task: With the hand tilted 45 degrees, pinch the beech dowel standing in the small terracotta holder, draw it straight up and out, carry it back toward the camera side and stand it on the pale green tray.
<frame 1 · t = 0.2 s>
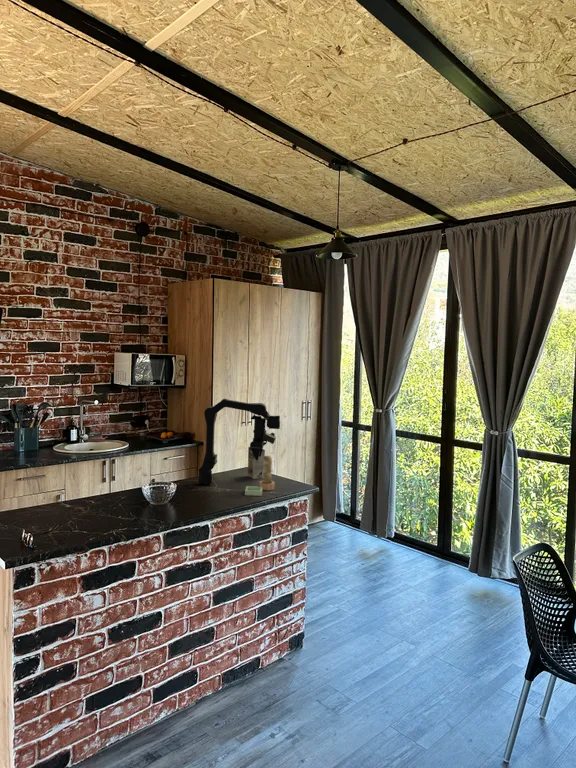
hand: (258, 458, 274), 14 cm above the countertop, tool pointing down, fingers open, 9 cm apart
tray: (253, 493, 260), on the countertop
holder: (266, 488, 270), on the countertop
coffee box: (255, 477, 291), on the countertop
dowel: (267, 472, 269), in the holder
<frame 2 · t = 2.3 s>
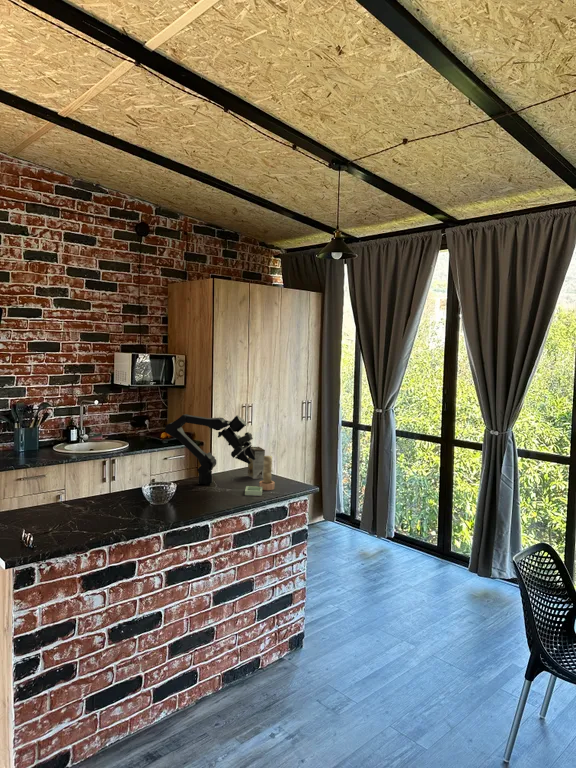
hand: (252, 461, 270), 13 cm above the countertop, tool tilted 45°, fingers open, 9 cm apart
nothing on the countertop moved.
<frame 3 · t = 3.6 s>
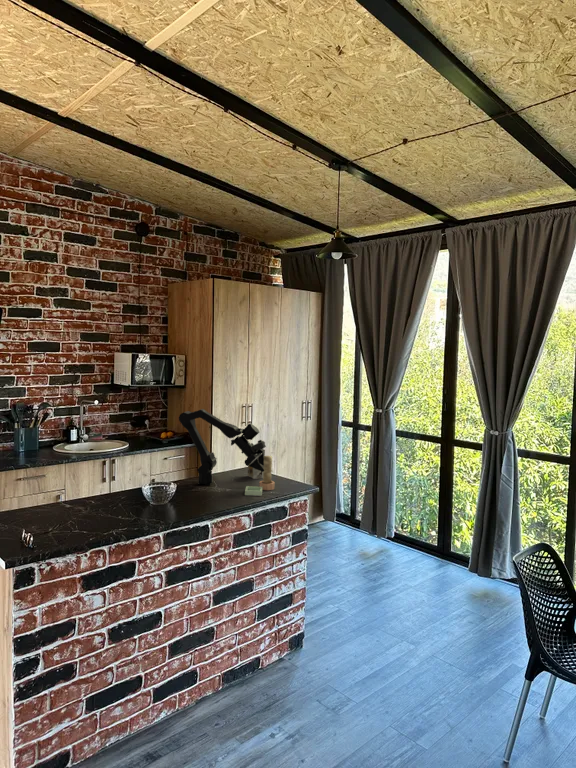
hand: (265, 469, 269), 10 cm above the countertop, tool tilted 45°, fingers open, 9 cm apart
nothing on the countertop moved.
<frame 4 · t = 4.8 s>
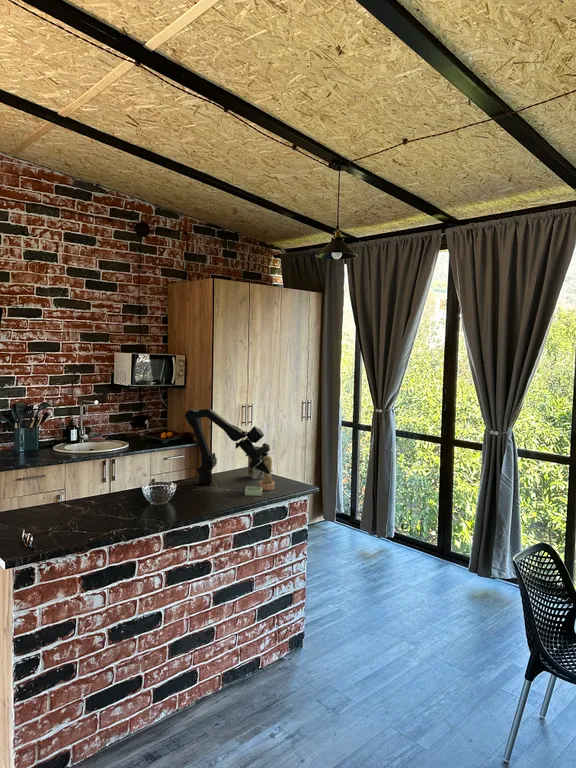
hand: (270, 472, 269), 9 cm above the countertop, tool tilted 45°, fingers closed on dowel, 4 cm apart
dowel: (267, 472, 269), in the holder, touching gripper
everything else where it was.
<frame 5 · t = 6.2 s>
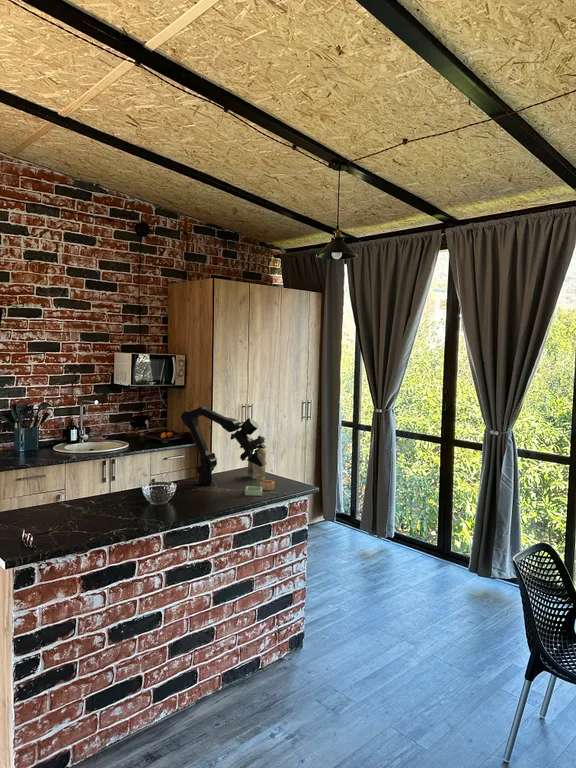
hand: (263, 465, 262), 13 cm above the countertop, tool tilted 45°, fingers closed on dowel, 4 cm apart
dowel: (261, 465, 263), point 13 cm above the countertop, touching gripper
everything else where it was.
when the fingers open (10 cm above the countertop, at t = 7.7 s): dowel stays where it is, resting on tray.
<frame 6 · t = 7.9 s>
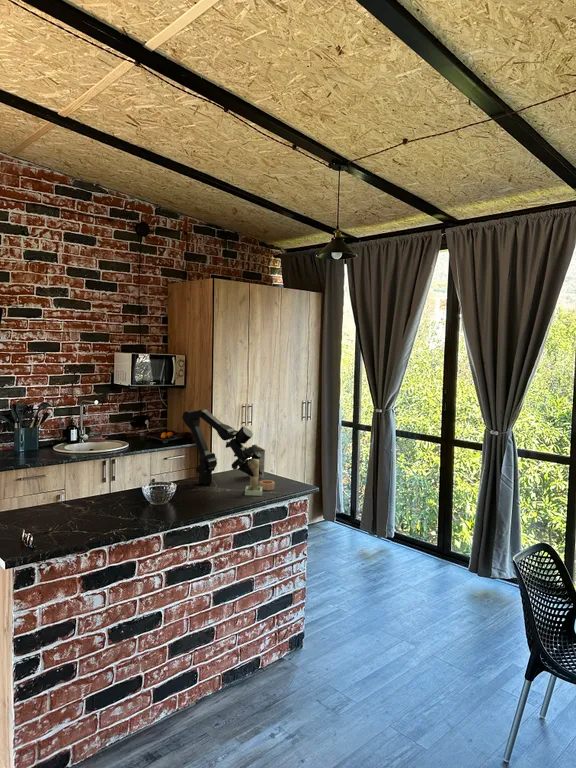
hand: (256, 475, 259), 10 cm above the countertop, tool tilted 45°, fingers open, 6 cm apart
dowel: (254, 476, 259), in the tray, point 9 cm above the countertop
everything else where it was.
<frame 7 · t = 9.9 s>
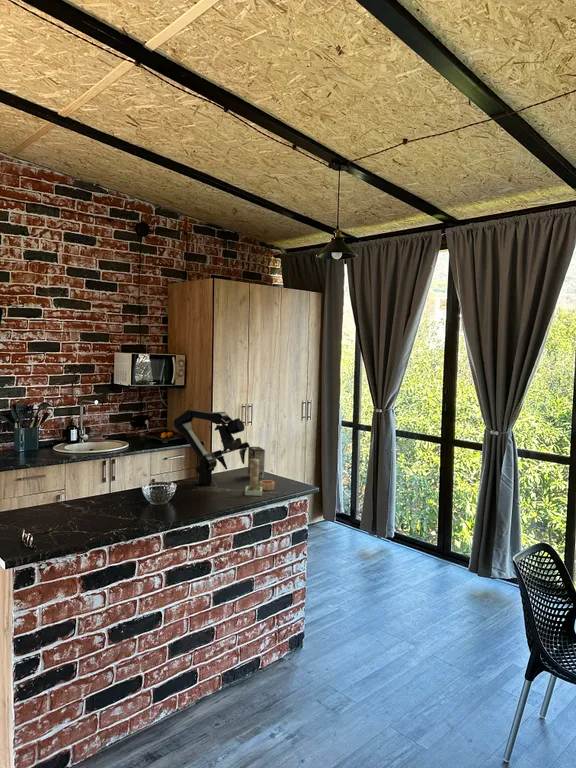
hand: (235, 466, 266), 11 cm above the countertop, tool tilted 20°, fingers open, 9 cm apart
nothing on the countertop moved.
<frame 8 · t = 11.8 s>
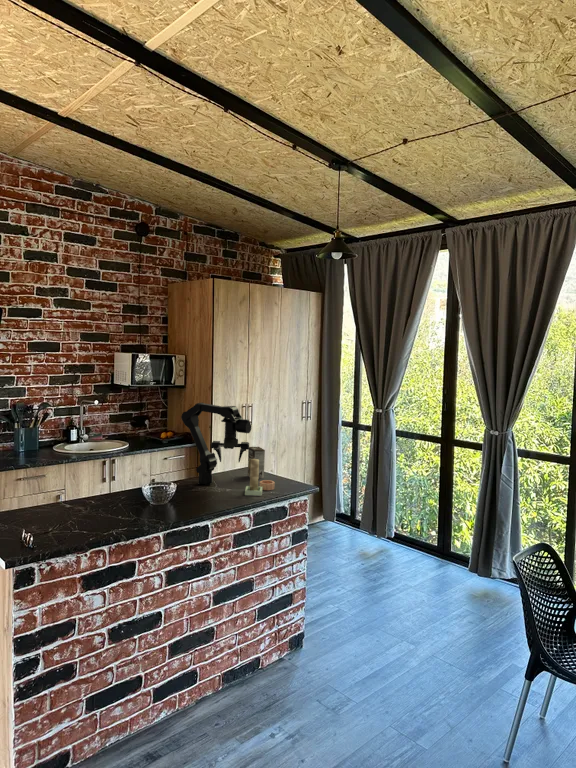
hand: (229, 462, 268), 13 cm above the countertop, tool pointing down, fingers open, 9 cm apart
nothing on the countertop moved.
at the end: dowel inside the target area on the tray (0.0 cm from its centre), point 8.8 cm above the tray's base; dowel tilted 0°; the gripper is holding nothing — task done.
